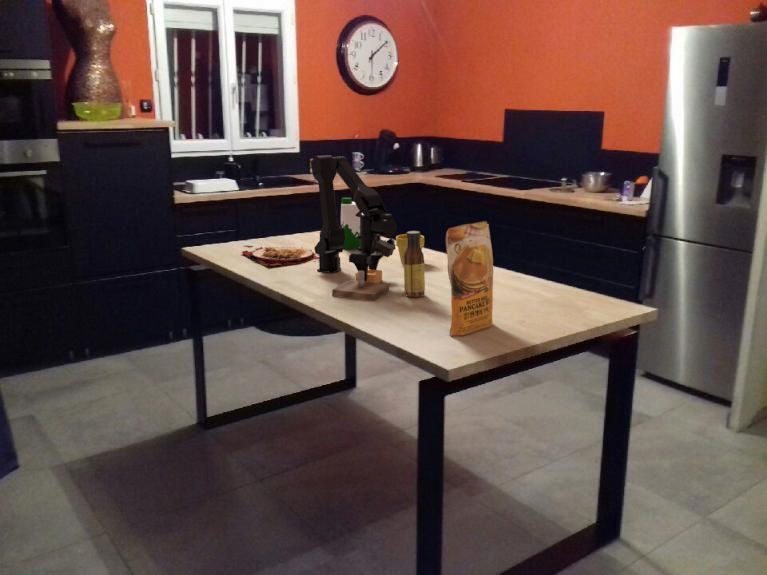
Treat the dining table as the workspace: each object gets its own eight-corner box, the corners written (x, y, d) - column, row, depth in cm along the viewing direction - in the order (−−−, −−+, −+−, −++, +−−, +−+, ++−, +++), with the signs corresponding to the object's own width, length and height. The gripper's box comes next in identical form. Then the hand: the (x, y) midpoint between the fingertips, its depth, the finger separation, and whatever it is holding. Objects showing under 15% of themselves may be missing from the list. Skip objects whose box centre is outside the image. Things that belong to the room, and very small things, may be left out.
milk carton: (342, 245, 285) (341, 196, 279) (364, 245, 284) (363, 196, 279) (340, 250, 276) (339, 199, 271) (363, 250, 276) (363, 199, 271)
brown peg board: (332, 295, 214) (332, 273, 212) (348, 286, 225) (348, 264, 223) (374, 300, 209) (374, 278, 207) (389, 290, 220) (389, 269, 218)
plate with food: (268, 270, 247) (268, 260, 246) (240, 254, 268) (240, 245, 267) (329, 263, 260) (329, 253, 259) (298, 248, 281) (298, 239, 280)
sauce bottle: (427, 293, 216) (428, 230, 211) (421, 299, 211) (422, 234, 205) (406, 291, 218) (407, 229, 213) (400, 297, 213) (401, 233, 207)
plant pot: (390, 261, 258) (390, 235, 255) (414, 258, 263) (414, 232, 260) (405, 267, 249) (405, 240, 247) (429, 264, 254) (429, 237, 252)
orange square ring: (355, 283, 228) (355, 273, 227) (363, 278, 234) (363, 268, 233) (374, 285, 225) (374, 275, 224) (382, 280, 231) (382, 270, 230)
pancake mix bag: (434, 333, 181) (436, 226, 173) (483, 318, 193) (487, 218, 185) (453, 340, 176) (456, 230, 168) (502, 324, 188) (507, 222, 180)
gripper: (380, 239, 214) (380, 288, 218) (402, 228, 230) (401, 274, 235) (347, 236, 218) (348, 284, 222) (371, 226, 234) (371, 271, 239)
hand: (368, 278), depth 229 cm, fingers closed on orange square ring, 7 cm apart
